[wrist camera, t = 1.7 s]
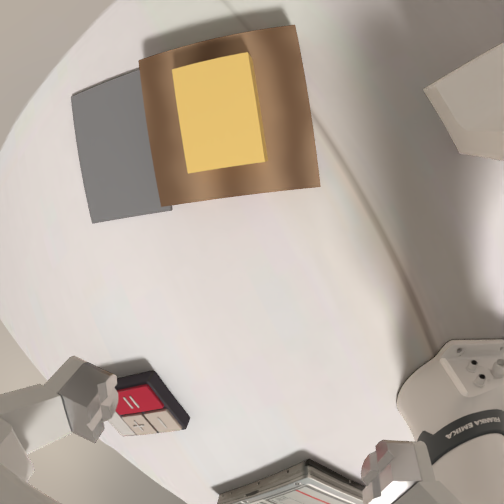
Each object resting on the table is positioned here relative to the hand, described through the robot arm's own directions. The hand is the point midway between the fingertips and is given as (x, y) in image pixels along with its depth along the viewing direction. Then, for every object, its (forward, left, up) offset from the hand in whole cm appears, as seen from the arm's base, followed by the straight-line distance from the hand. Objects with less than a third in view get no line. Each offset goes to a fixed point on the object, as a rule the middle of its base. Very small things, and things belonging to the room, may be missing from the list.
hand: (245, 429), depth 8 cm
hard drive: (+5, +58, -28) cm, 65 cm away
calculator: (+28, +29, -28) cm, 49 cm away
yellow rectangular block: (+5, -11, -24) cm, 27 cm away
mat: (+19, -11, -28) cm, 35 cm away
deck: (+5, -11, -28) cm, 30 cm away
